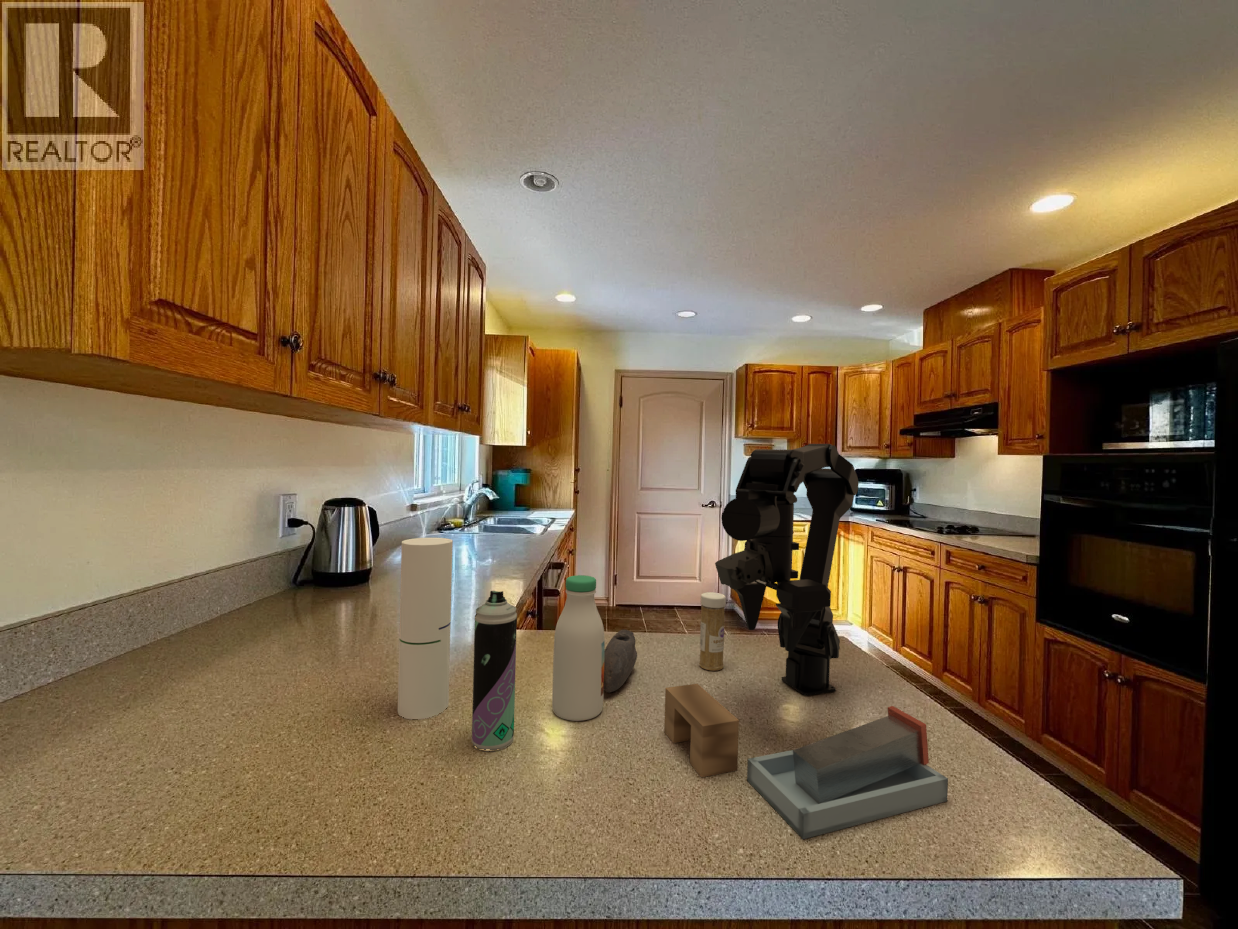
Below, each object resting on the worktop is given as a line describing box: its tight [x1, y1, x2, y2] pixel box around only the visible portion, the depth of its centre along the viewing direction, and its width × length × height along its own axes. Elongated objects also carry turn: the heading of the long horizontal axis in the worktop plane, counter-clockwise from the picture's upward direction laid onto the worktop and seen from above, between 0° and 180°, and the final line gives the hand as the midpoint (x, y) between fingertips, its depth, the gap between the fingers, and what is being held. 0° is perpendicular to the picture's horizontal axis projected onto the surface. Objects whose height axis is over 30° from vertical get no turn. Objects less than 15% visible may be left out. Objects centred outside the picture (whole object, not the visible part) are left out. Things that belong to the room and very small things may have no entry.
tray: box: [746, 749, 949, 840], centre depth 60 cm, size 20×10×3 cm, turn 109°
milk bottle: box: [551, 574, 606, 722], centre depth 78 cm, size 8×8×20 cm
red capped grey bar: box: [792, 705, 930, 804], centre depth 61 cm, size 16×5×5 cm, turn 109°
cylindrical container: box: [397, 537, 453, 720], centre depth 77 cm, size 7×7×25 cm
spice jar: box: [698, 591, 727, 672], centre depth 95 cm, size 5×5×13 cm
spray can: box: [471, 590, 518, 750], centre depth 69 cm, size 6×6×20 cm
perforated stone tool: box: [604, 629, 638, 693], centre depth 88 cm, size 15×5×7 cm, turn 165°
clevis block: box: [663, 683, 740, 778], centre depth 68 cm, size 5×11×6 cm, turn 19°
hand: (769, 639), depth 76 cm, fingers open, 9 cm apart
